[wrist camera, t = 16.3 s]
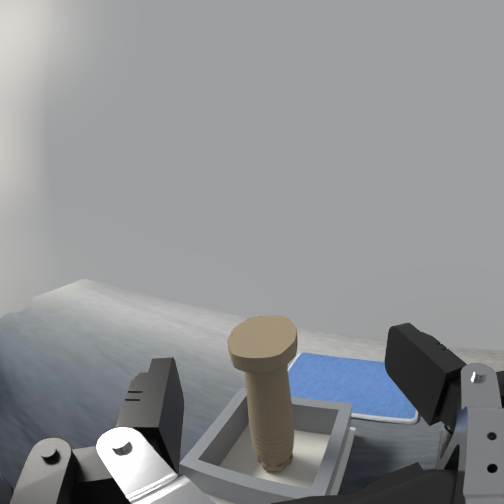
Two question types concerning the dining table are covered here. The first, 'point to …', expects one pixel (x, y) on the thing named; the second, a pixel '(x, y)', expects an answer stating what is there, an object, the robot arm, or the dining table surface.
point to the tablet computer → (351, 386)
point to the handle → (267, 384)
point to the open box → (251, 470)
